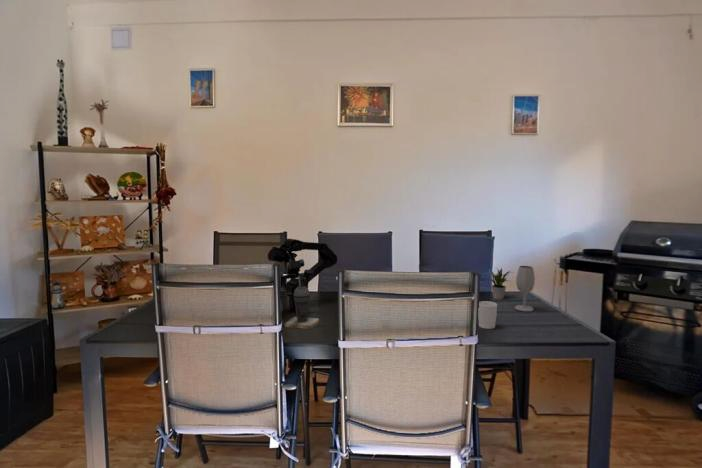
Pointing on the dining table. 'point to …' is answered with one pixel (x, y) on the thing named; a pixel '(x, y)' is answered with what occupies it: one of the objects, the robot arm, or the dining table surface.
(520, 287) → the wineglass
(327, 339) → the dining table surface
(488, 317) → the white cup
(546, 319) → the dining table surface
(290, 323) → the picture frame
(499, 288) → the house plant
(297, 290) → the beverage cup
